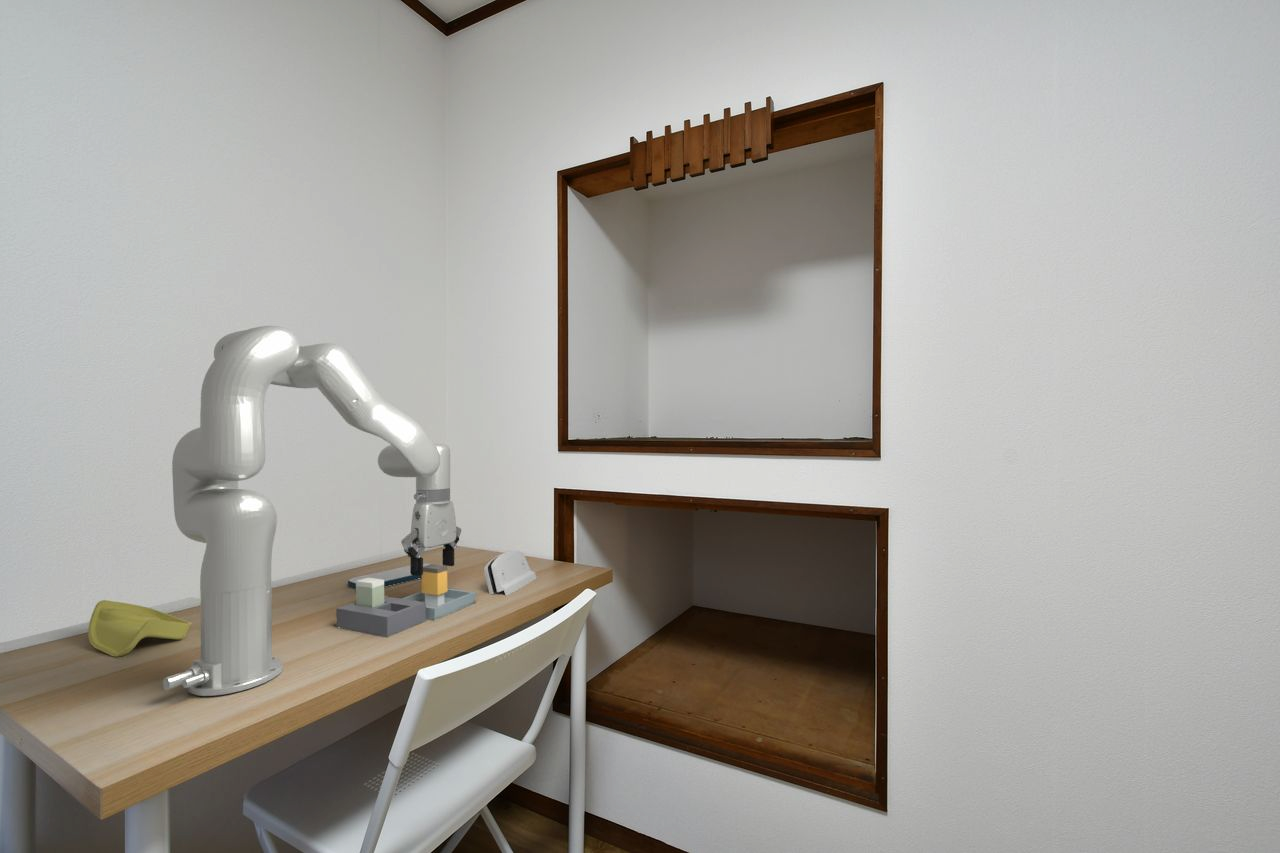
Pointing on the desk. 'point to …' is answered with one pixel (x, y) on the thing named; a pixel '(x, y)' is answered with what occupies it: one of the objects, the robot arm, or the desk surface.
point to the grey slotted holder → (508, 572)
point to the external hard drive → (388, 576)
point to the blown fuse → (434, 584)
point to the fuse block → (379, 611)
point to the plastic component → (130, 626)
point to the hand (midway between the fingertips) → (433, 570)
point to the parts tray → (446, 602)
